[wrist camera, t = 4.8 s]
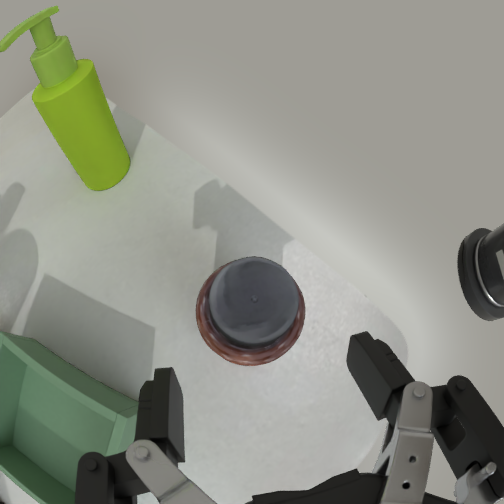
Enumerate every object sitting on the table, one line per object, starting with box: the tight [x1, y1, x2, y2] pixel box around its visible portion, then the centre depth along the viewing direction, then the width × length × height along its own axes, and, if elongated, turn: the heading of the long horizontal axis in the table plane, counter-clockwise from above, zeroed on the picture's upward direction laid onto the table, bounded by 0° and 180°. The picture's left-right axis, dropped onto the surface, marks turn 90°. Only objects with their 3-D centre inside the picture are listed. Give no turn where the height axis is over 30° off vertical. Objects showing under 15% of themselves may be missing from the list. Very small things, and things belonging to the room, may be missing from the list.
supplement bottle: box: [196, 256, 305, 366], centre depth 18 cm, size 6×6×11 cm
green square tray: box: [0, 331, 139, 504], centre depth 15 cm, size 14×14×5 cm
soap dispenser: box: [0, 6, 130, 191], centre depth 18 cm, size 6×7×20 cm
